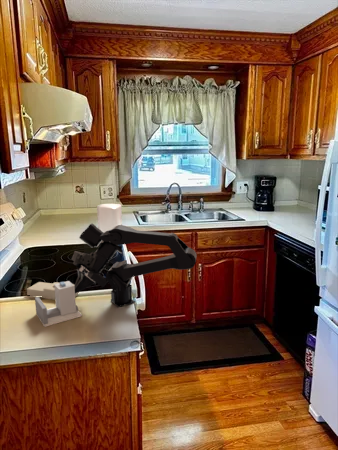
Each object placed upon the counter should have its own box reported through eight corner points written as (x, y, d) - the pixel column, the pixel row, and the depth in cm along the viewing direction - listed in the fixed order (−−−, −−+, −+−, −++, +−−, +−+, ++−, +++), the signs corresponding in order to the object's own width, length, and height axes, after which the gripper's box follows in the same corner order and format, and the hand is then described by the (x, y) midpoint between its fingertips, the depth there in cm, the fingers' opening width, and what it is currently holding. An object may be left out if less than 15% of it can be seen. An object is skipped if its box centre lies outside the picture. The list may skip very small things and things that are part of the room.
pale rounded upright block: (117, 241, 202) (116, 205, 197) (94, 241, 204) (92, 205, 199) (123, 235, 217) (122, 202, 212) (102, 235, 218) (100, 201, 214)
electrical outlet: (39, 279, 133) (78, 284, 128) (39, 289, 134) (79, 294, 128) (26, 286, 126) (68, 292, 121) (27, 296, 127) (68, 302, 122)
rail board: (71, 305, 119) (70, 289, 118) (81, 316, 111) (80, 299, 110) (36, 314, 112) (34, 297, 111) (44, 326, 104) (42, 308, 103)
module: (70, 305, 116) (68, 278, 114) (76, 311, 112) (74, 283, 110) (56, 309, 114) (53, 281, 111) (61, 315, 109) (58, 287, 107)
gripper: (76, 236, 120) (47, 272, 117) (96, 249, 105) (63, 289, 101) (98, 254, 126) (71, 288, 123) (120, 268, 111) (89, 307, 107)
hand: (73, 292), depth 113 cm, fingers closed
